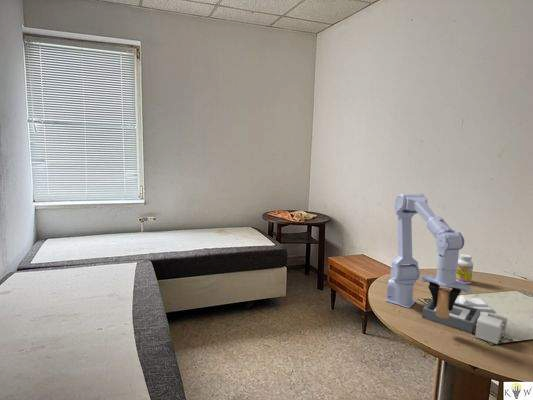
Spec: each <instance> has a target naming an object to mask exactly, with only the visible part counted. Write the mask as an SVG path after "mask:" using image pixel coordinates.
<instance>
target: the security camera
mask: <svg viewBox="0 0 533 400" xmlns="http://www.w3.org/2000/svg"><path fill="white" fill-rule="evenodd" d="M508 319H509V318H508V317H506V316H502V315H498V314H495V313H493V312H487V315H486V314H481V313H480V317H479V318H478V320H477V325H476V327H475V335H474V337H475V338H477V339H480V340H483V341H485V342H489V343H492V344H494V345H495V344H496V345H498V344H499V342H500V340H501V337H502V335H506V332H507V325H508Z"/></svg>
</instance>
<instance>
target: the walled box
mask: <svg viewBox="0 0 533 400" xmlns="http://www.w3.org/2000/svg"><path fill="white" fill-rule="evenodd" d="M481 313H482V311H481V309H477V308H473V307H470V306H466V305H462V304H459V303H454V305H453V309H452V310H451V311H450V312H449V318H446V319H444V318H440V317H438V316H436V306H434V303H433V298H431V300H430V301H429V302H427V304H426V305H425V306H424V307H422V319H426V320H429V321H432V322H436V323H438V324H442V325H445V326H448V327H451V328H455V329H458V330H461V331H463V332H468V333H470V334H473V332H474V331H475V329H476V327H477V325H476V324H477V320H478V318H479V317H480V315H481ZM475 326H476V327H475Z"/></svg>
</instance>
